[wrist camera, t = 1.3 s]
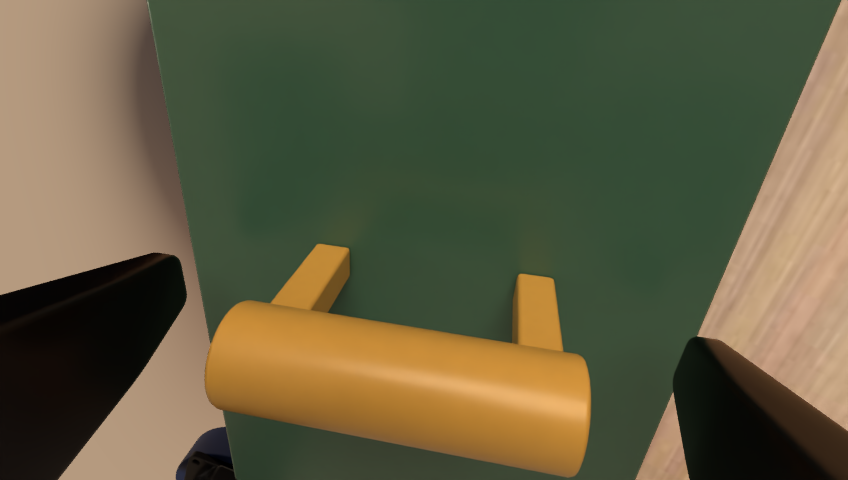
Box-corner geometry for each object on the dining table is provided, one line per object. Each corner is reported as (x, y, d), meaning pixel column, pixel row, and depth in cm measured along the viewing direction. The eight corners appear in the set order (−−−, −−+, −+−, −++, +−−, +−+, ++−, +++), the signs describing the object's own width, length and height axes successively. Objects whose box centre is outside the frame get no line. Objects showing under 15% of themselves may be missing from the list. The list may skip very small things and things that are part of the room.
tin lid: (598, 532, 13) (633, 763, 9) (246, 459, 14) (144, 634, 10) (886, -176, 6) (1592, -501, 2) (139, -199, 7) (-312, -429, 3)
